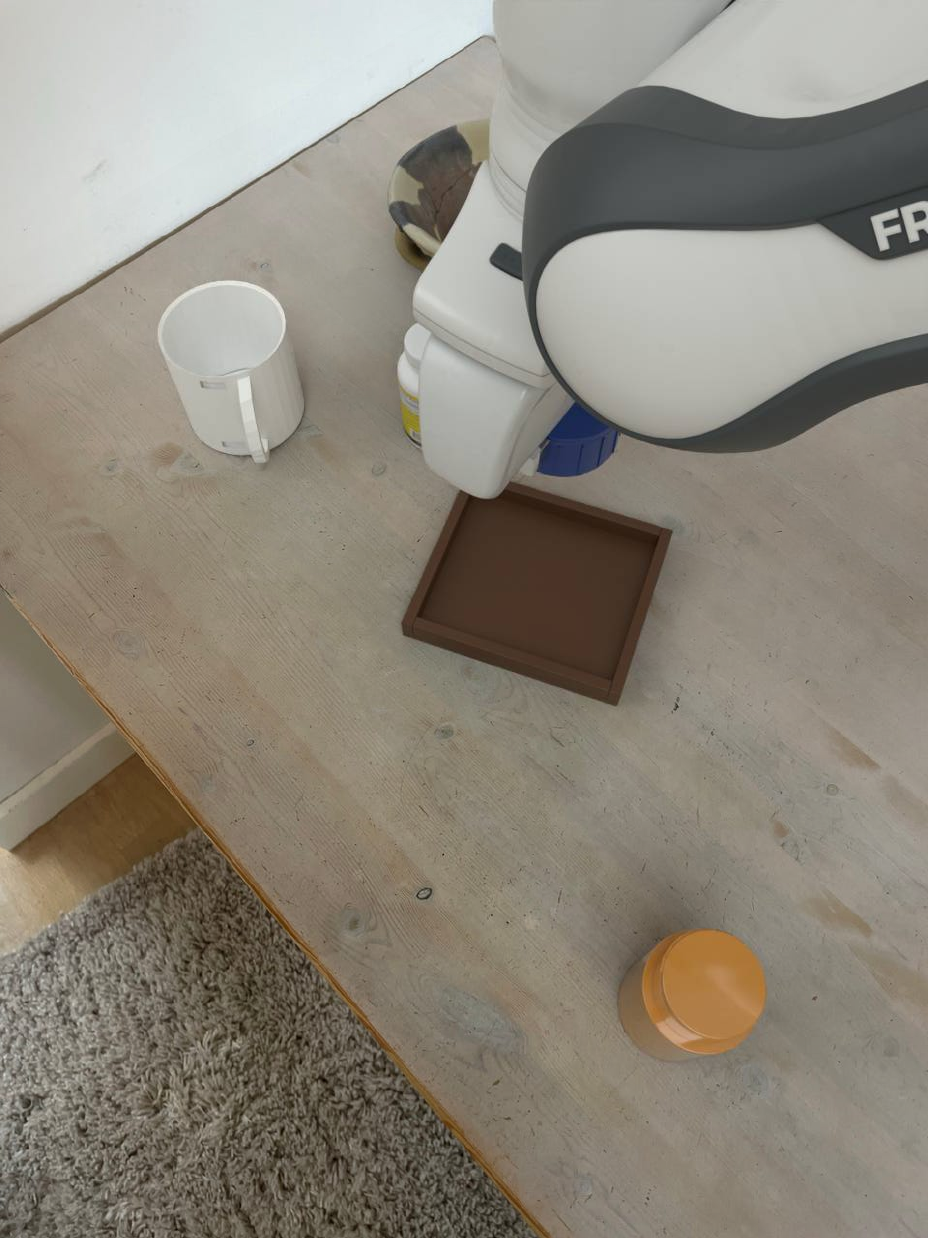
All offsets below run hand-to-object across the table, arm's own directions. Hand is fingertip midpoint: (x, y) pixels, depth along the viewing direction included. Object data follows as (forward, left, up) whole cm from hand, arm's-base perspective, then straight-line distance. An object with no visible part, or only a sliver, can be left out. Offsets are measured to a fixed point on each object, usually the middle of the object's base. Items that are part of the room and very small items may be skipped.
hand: (564, 415), depth 52 cm
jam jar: (-16, +24, -20) cm, 35 cm away
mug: (+26, -6, -21) cm, 34 cm away
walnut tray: (0, 0, -20) cm, 20 cm away
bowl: (+13, -28, -21) cm, 37 cm away
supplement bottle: (+12, -11, -21) cm, 26 cm away
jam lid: (0, 0, -1) cm, 1 cm away
